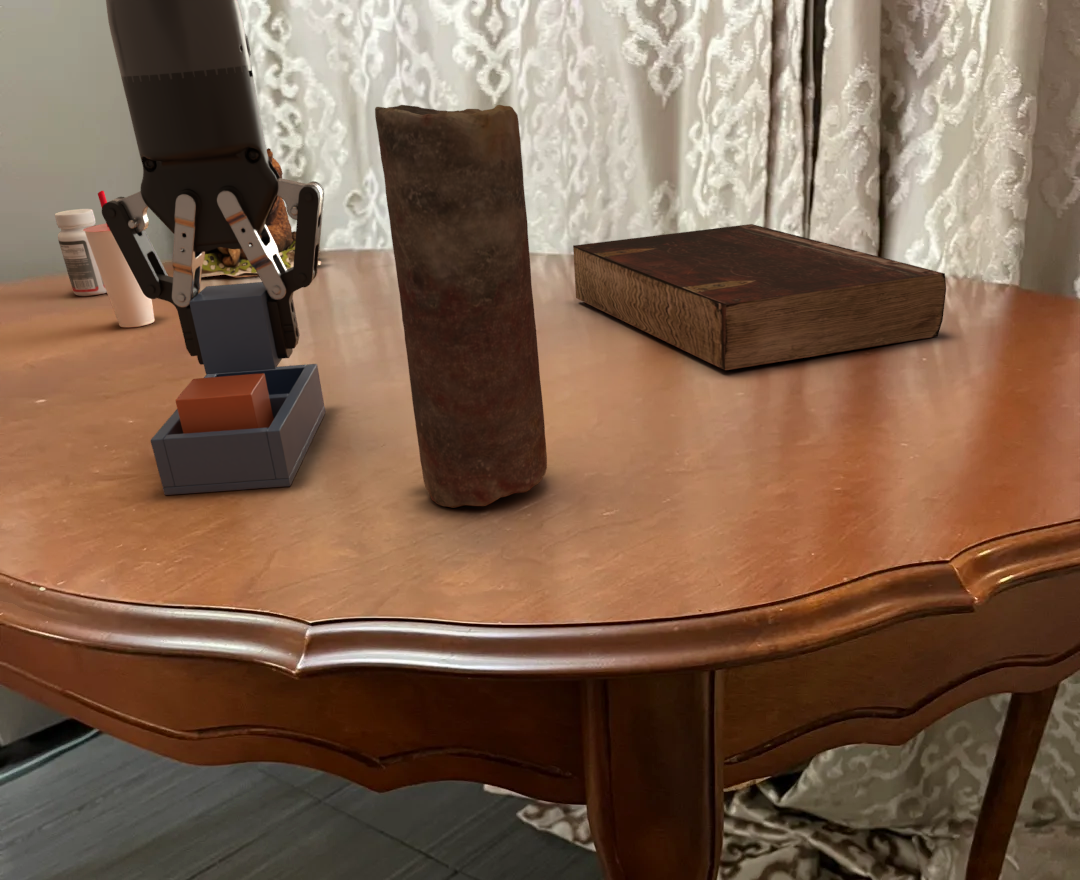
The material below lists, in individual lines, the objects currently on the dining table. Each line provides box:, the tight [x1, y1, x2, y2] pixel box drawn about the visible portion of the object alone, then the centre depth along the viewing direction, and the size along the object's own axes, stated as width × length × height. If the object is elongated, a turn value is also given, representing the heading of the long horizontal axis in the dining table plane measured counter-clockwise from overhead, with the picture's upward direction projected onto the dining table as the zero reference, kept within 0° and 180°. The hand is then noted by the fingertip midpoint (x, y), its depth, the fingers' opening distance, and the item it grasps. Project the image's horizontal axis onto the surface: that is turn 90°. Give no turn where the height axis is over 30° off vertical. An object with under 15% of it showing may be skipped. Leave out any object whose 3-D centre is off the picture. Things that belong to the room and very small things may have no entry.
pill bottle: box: [54, 208, 107, 297], centre depth 123 cm, size 5×5×8 cm
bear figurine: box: [201, 148, 322, 279], centre depth 129 cm, size 14×15×12 cm
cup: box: [83, 190, 156, 328], centre depth 107 cm, size 5×5×12 cm
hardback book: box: [572, 223, 947, 371], centre depth 94 cm, size 29×19×5 cm, turn 20°
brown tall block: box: [374, 104, 548, 508], centre depth 60 cm, size 8×7×20 cm
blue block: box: [189, 281, 283, 375], centre depth 74 cm, size 5×5×5 cm
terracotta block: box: [175, 373, 274, 434], centre depth 70 cm, size 5×5×5 cm
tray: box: [150, 363, 326, 496], centre depth 73 cm, size 8×15×4 cm, turn 1°
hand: (247, 357), depth 75 cm, fingers closed on blue block, 4 cm apart
